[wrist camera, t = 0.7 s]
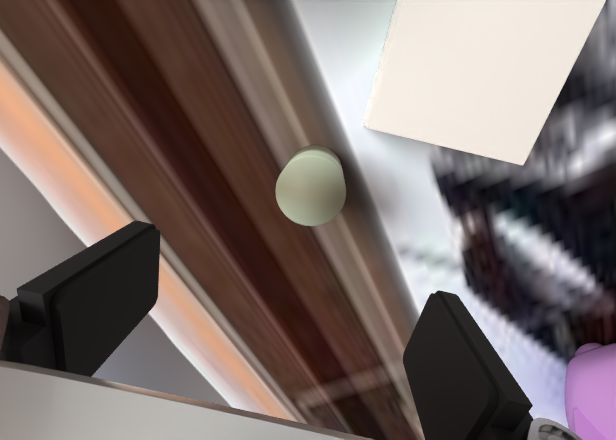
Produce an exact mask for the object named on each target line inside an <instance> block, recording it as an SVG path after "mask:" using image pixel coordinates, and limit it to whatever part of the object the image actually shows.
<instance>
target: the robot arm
mask: <svg viewBox="0 0 616 440" xmlns="http://www.w3.org/2000/svg"><path fill="white" fill-rule="evenodd" d="M159 255H160V231H159V230H156V227H155V225H154V224H149V223H145V222H141V221H133V222H132V223H130V224H128V225H126V226H125V227H123V228H121V229H120V230H118V231H116V232H114V233H113V234H111V235H109V236H107V237H106V238H104V239H102V240H100V241H99V242H97V243H95V244H93V245H92V246H90V247H88V248H86V249H85V250H83V251H81V252H80V253H78V254H76V255H74V256H73V257H71V258H69V259H67V260H66V261H64V262H62V263H60V264H59V265H57V266H55V267H54V268H52V269H50V270H48V271H47V272H45V273H43V274H41V275H40V276H38V277H36V278H34V279H33V280H31V281H29V282H27V283H26V284H24V285H22V286H21V287H19V288H17V294H18V296H16V297H15V298H13V299H11V300H10V301H9V300H8V299H6V298H5V297H3V296H0V440H373V439H369V438H365V437H360V436H356V435H352V434H347V433H343V432H339V431H334V430H330V429H325V428H321V427H316V426H312V425H308V424H303V423H299V422H294V421H290V420H285V419H281V418H276V417H272V416H267V415H263V414H258V413H254V412H249V411H245V410H240V409H236V408H231V407H226V406H222V405H218V404H213V403H209V402H204V401H200V400H195V399H190V398H186V397H181V396H176V395H172V394H167V393H163V392H158V391H153V390H149V389H144V388H139V387H135V386H130V385H125V384H121V383H116V382H112V381H107V380H103V379H98V378H93V377H91V376H92V375H93V374H94V373H95V372H96V371H97V370H98V368H99V367H100V366H101V365H102V364H103V363H104V362H105V361H106V359H107V358H108V357H109V356H110V355H111V354H112V353H113V352H114V350H115V349H116V348H117V347H118V346H119V345H120V344H121V343H122V341H123V340H124V339H125V338H126V337H127V336H128V335H129V334H130V332H131V331H132V330H133V329H134V328H135V327H136V326H137V325H138V323H139V322H140V321H141V320H142V319H143V318H144V317H145V315H146V314H147V313H148V312H149V311H150V310H151V309H152V308H153V306H154V305H155V303H156V301H157V298H158V280H159ZM403 364H404V367H405V371H406V374H407V378H408V381H409V385H410V388H411V392H412V395H413V398H414V402H415V405H416V409H417V412H418V416H419V419H420V423H421V426H422V430H423V433H424V437H425V440H583V439H581V438H580V437H579V436H577V435H576V434H575V433H573V432H572V431H571V430H569V429H568V428H566V427H564V426H563V425H561V424H559V423H557V422H554V421H552V420H549V419H545V418H537V419H534V420H533V418H532V416H531V415H530V413H529V410H530V409H531V407H532V406H533V405H532V404H531V402H530V401H529V399H528V398H527V396H526V395H525V393H524V392H523V390H522V389H521V387H520V386H519V385H518V383H517V382H516V380H515V379H514V377H513V376H512V374H511V373H510V371H509V370H508V368H507V367H506V366H505V364H504V363H503V361H502V360H501V358H500V357H499V355H498V354H497V352H496V351H495V349H494V348H493V347H492V345H491V344H490V342H489V341H488V339H487V338H486V336H485V335H484V333H483V332H482V330H481V329H480V328H479V326H478V325H477V323H476V322H475V320H474V319H473V317H472V316H471V314H470V313H469V311H468V310H467V309H466V307H465V306H464V304H463V303H462V301H461V300H460V298H459V297H458V296H457V295H456V294H452V293H448V292H443V291H437V292H436V293H435V294H433V293H432V294H431V295H430V296H429V298H428V300H427V302H426V304H425V307H424V309H423V311H422V313H421V315H420V318H419V320H418V322H417V324H416V327H415V329H414V331H413V333H412V336H411V338H410V340H409V342H408V344H407V347H406V349H405V351H404V354H403Z"/></svg>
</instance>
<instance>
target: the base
mask: <svg viewBox="0 0 616 440" xmlns="http://www.w3.org/2000/svg"><path fill="white" fill-rule="evenodd" d="M605 1H606V0H397V1H396V4H395V8H394V12H393V15H392V19H391V22H390V26H389V30H388V33H387V37H386V40H385V44H384V48H383V51H382V55H381V58H380V62H379V65H378V69H377V73H376V76H375V80H374V83H373V87H372V91H371V94H370V98H369V101H368V105H367V109H366V112H365V116H364V119H363V123H362V125H363V126H364V127H366V128H368V129H372V130H377V131H381V132H385V133H389V134H393V135H397V136H402V137H406V138H410V139H414V140H418V141H422V142H427V143H431V144H435V145H439V146H443V147H448V148H452V149H456V150H460V151H464V152H468V153H473V154H477V155H481V156H485V157H489V158H493V159H498V160H502V161H506V162H510V163H514V164H519V165H524V163H525V161H526V159H527V157H528V155H529V153H530V151H531V149H532V147H533V145H534V143H535V141H536V139H537V137H538V135H539V133H540V131H541V129H542V127H543V125H544V123H545V121H546V119H547V117H548V115H549V113H550V111H551V109H552V107H553V105H554V103H555V101H556V99H557V97H558V95H559V93H560V91H561V89H562V87H563V85H564V83H565V81H566V79H567V77H568V75H569V73H570V71H571V69H572V67H573V65H574V63H575V61H576V59H577V57H578V55H579V53H580V51H581V49H582V47H583V45H584V43H585V41H586V39H587V37H588V35H589V33H590V31H591V29H592V27H593V25H594V23H595V21H596V19H597V17H598V15H599V13H600V11H601V9H602V7H603V5H604V3H605Z"/></svg>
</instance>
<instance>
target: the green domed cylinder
mask: <svg viewBox="0 0 616 440" xmlns="http://www.w3.org/2000/svg"><path fill="white" fill-rule="evenodd" d="M276 199H277V202H278V205H279V207H280V208H281V210H282V211H283V213H284V214H285V215H286V216H287V217H288V218H290V219H291V220H292V221H294V222H296V223H298V224H302V225H306V226H317V225H321V224H324V223H327V222H329V221H330V220H332V219H333V218H334V217H336V216H337V215H338V213H339V212H340V211H341V209H342V207H343V205H344V202H345V199H346V186H345V181H344V176H343V170H342V165H341V162H340V160H339V158H338V157H337V155H336V154H335V153H334V152H333V151H332V150H330V149H329V148H327V147H324V146H320V145H310V146H306V147H304V148H302V149H300V150H299V151H298V152H297V153H296V154H295V155H294V156H293V158H292V159H291V160H290V162H289V163H288V164H287V166H286V167H285V168H284V170H283V171H282V173H281V174H280V176H279V178H278V180H277V184H276Z"/></svg>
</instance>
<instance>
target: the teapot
mask: <svg viewBox="0 0 616 440" xmlns="http://www.w3.org/2000/svg"><path fill="white" fill-rule="evenodd" d="M565 410H566V417H567V421H568V426H569V429H570V430H571V431H572V432H573V433H575V434H576V435H577V436H579V437H580V438H581V439H583V440H616V343H613V344H609V345H605V346H602V345H601V344H599V343H588V344H585V345H583V346H581V347H580V348H579V349H578V350H577V351H576V353H575V357H573V358H572V359H571V360H570V362H569V364H568V367H567V372H566V381H565Z"/></svg>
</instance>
